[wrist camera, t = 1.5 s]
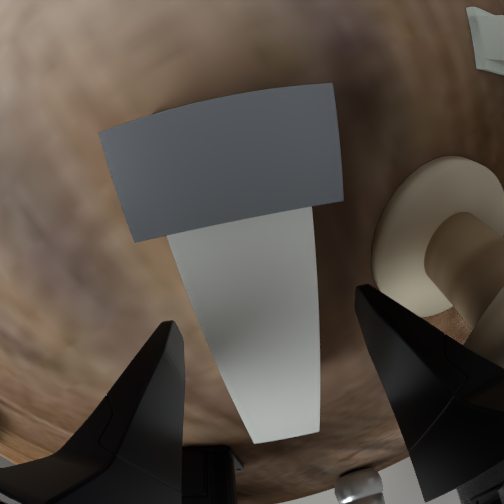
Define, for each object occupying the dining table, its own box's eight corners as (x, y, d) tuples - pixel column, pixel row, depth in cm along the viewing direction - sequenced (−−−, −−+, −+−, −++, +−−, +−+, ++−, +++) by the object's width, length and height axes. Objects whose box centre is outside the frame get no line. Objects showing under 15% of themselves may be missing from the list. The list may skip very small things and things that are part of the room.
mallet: (314, 368, 16) (333, 435, 12) (237, 383, 16) (242, 452, 12) (285, 86, 8) (332, 83, 5) (151, 114, 8) (98, 132, 5)
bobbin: (477, 284, 14) (543, 363, 8) (365, 321, 14) (422, 440, 8) (501, 153, 10) (609, 215, 4) (371, 162, 10) (516, 265, 4)
